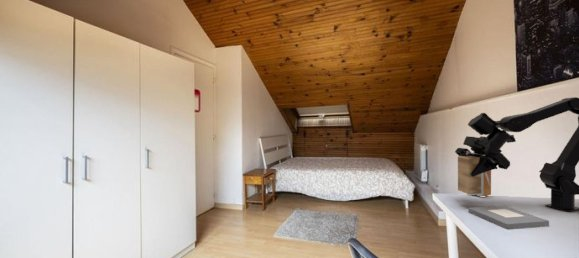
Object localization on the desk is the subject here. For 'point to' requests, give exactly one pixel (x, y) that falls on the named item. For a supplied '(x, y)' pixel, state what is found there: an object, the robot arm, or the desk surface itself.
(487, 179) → the small box
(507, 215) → the baseplate
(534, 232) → the desk surface
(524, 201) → the desk surface
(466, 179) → the oak block
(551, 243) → the desk surface
